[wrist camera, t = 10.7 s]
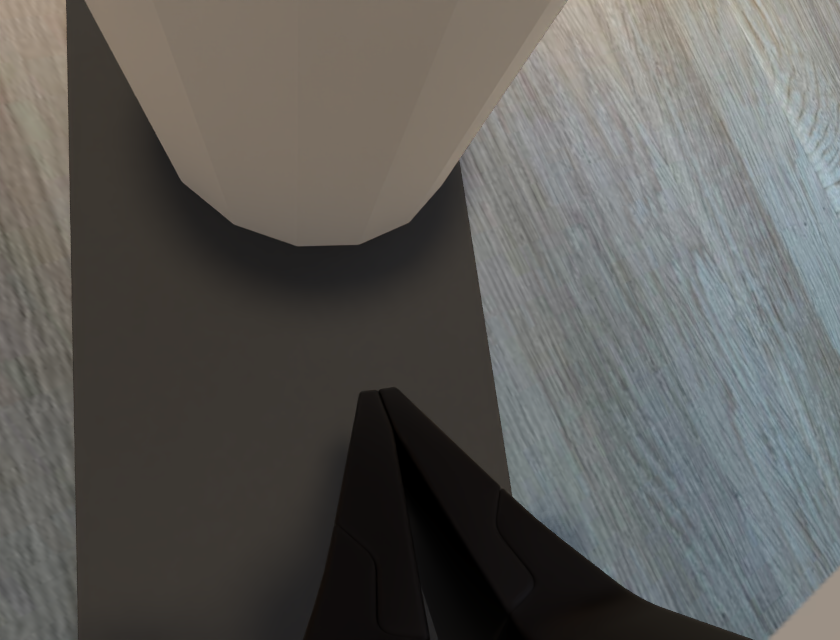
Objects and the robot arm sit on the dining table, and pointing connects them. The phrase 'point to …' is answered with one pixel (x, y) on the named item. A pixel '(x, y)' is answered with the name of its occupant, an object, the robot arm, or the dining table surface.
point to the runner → (237, 377)
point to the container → (319, 100)
